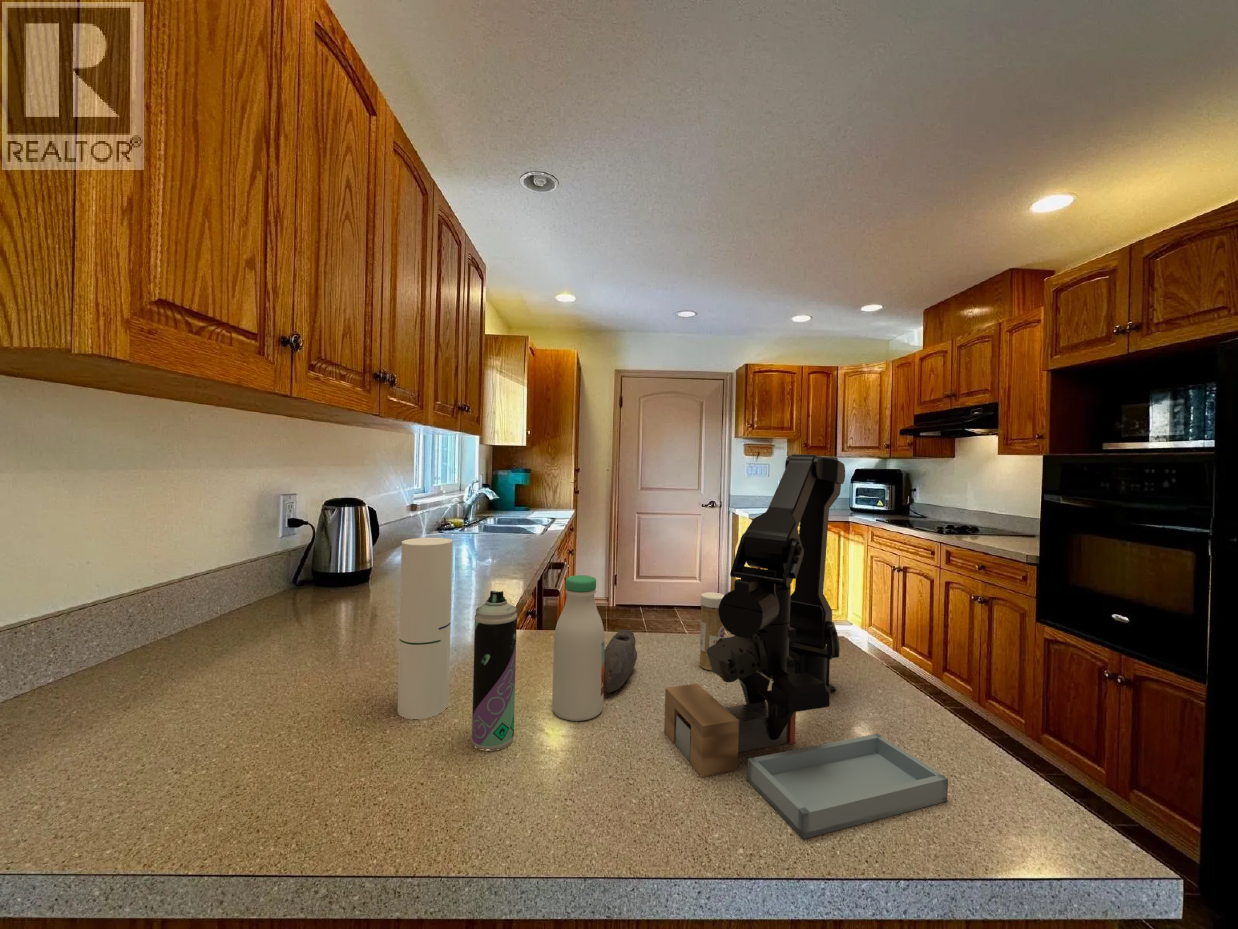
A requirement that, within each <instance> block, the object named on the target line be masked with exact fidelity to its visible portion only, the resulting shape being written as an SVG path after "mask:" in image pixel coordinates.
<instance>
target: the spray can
mask: <svg viewBox="0 0 1238 929" xmlns="http://www.w3.org/2000/svg"><path fill="white" fill-rule="evenodd" d="M489 593H490V594H489V597H488V599H486V600H485V603H484V604H482V605H480V606H478V607H477V608H476V609H475V613H476V614H475V615H474V634H473V636H474V637H473V671H472V673H473V674H472V677H473V678H472V679H473V680H472V710H471V711H472V714H471V715H472V717H471V744H472V743H473V745H474V746H476V747H477V748H479V749H484V750H486V749H490V750H497V749H501V750H504V749H506V748H507V746H508V747H509V746H510V745H511V744H512V743H513V742H514V738H515V737H514V736H515V707H516V705H515V702H516V701H515V699H516V666H517V664H516V662H517V629H518V628H517V627H518V626H517V624H518V621H517V620H518V613H517V607H516V606H515V605H512V604H511V603H509V602H508V600H507V599H506V597H505V596H504V591H503V590H502V591H496V590H490V592H489ZM473 745H472V746H473ZM503 748H504V749H503Z"/></svg>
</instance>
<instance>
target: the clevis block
mask: <svg viewBox="0 0 1238 929" xmlns="http://www.w3.org/2000/svg"><path fill="white" fill-rule="evenodd" d="M664 694H665V699H664V726H663V728H664V729H663V730H664V731H663V732H664V733H665V734H666V736H667V737H668V738H669V740H670V741H671V742H672V744H676V715H680V714H681V715H682V716H683V717H684V718H685V719H686V721H687V722H688V723H689V724H690V725H691V744H690V762H689V764H690V765H691V766H692V768H693V769H694V770H695V771H696V773H697V774H698V775H699V776H700V777H701V778H705V777H710V776H715V775H722V774H725V773H726V774H727V773H730V772H736V771H738V768H739V767H738V766H739V765H738V764H739V762H738V760H739V752H738V735H739V720H738V719H737V718H736V717H735V716H733V715H732V714H731V713H730V712H729V711H728V710H727V709H726V708H725V706H723V705H722V704H721V703H720V702H719V701H718V700H717V699H715V698H714V697H713V696H712V695H711V694H710V693H709V692H708V691H707V690H705V689H704V688H703V687H702V686H701V685H700V684H698V683H693V684H683V685H676V686H669V687H665V693H664Z"/></svg>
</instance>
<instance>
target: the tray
mask: <svg viewBox="0 0 1238 929" xmlns="http://www.w3.org/2000/svg"><path fill="white" fill-rule="evenodd" d="M746 774H747V776H746V781H747V782H748V784H750V785H751V786H752V787H753V788H754V789H755V790H756V792H757V793H759V795H760V796H761V797H762V798H763V799H764V800H765V801H766V802H767V803H768V804H769V806H771V808H773V809H774V811H775V812H776V813H777V814H778V815H779V816H780V817H781V818H782V819H783V821H785V822H786V823H787V824H788V825H789V826H790V827H791V829H793V831H794V832H795V833H796V834H797V835H798V836H799V837H800V838H801V839H802V840H807V839H810V838H814V837H817V836H822V835H825V834H829V833H832V832H836V831H840V830H843V829H847V828H850V827H855V826H858V825H859V826H860V825H862V824H866V823H869V822H874V821H878V820H881V819H885V818H888V817H893V816H896V815H901V814H904V813H907V812H911V811H916V810H918V809H922V808H926V807H930V806H934V805H938V804H941V803H945V802H946V803H947V802H948V792H949V791H948V789H949V788H948V787H949V778H948V777H947V776H945V775H943V774H942V773H940V772H939V771H937V770H935V769H934V768H933V767H930V766H929V765H928V764H926V763H924V762H923V761H921V760H920V759H918V758H917V757H915V756H913V755H912V754H911V753H909V752H907V751H906V750H904V749H902V748H901V747H899V746H898V745H897V744H894V742H891V741H890V740H888V739H886V738H885V737H883V736H882V735H880V734H879V733H873V734H869V735H865V736H859V737H853V738H847V739H842V740H837V741H833V742H828V743H822V744H816V745H812V746H808V747H806V746H805V747H801V748H796V749H792V750H786V751H781V752H777V753H776V752H775V753H771V754H765V755H760V756H756V757H755V756H754V757H750V758H747V771H746Z"/></svg>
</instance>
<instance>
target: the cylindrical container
mask: <svg viewBox="0 0 1238 929" xmlns="http://www.w3.org/2000/svg"><path fill="white" fill-rule="evenodd" d="M453 544H454V543H453V539H450V538H445V537H416V538H410V539H409V538H408V539H404V540H402V541H401V555H400V557H401V558H400V562H401V563H400V594H399V596H400V598H399V599H400V600H399V604H400V605H399V638H398V640H399V642H398V678H397V680H398V681H397V690H398V691H397V714H398V715H399V717H401V716H402V717H401V718H403V717H404V718H403V719H405V720H406V719H407V720H413V719H418V720H426V719H430V718H433V717H432V716H434V715H437V716H439V715H440V714H439V713H441V712H442V713H444V712H445V711H446V710H447V709H448V708H449V705H448V704H449V703H450V702H449V701H450V697H449V696H450V664H451V663H450V657H451V655H450V653H451V623H452V622H451V618H452V617H451V616H452V585H453V583H452V581H453V580H452V578H453V576H452V574H453ZM447 707H448V708H447ZM446 708H447V709H446ZM445 709H446V710H445ZM444 710H445V711H444ZM443 711H444V712H443ZM442 713H441V714H442ZM438 714H439V715H438ZM429 717H430V718H429ZM434 717H435V716H434ZM425 718H426V719H425Z"/></svg>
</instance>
